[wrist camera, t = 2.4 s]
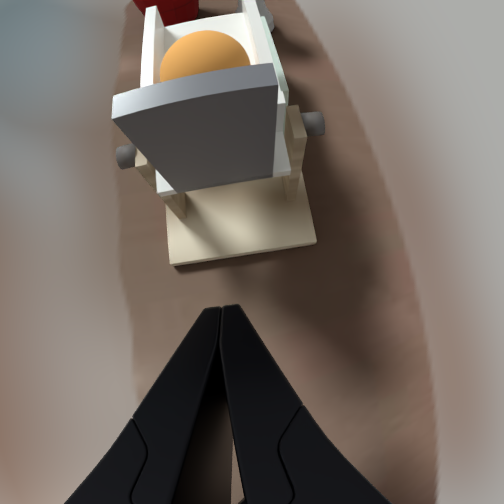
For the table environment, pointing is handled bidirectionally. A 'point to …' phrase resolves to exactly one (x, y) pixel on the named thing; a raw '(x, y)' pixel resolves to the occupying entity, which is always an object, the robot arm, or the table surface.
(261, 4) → the rook chess piece
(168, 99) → the chute
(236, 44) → the ball
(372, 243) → the table surface
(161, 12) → the plastic cup
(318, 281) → the table surface
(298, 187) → the stand
